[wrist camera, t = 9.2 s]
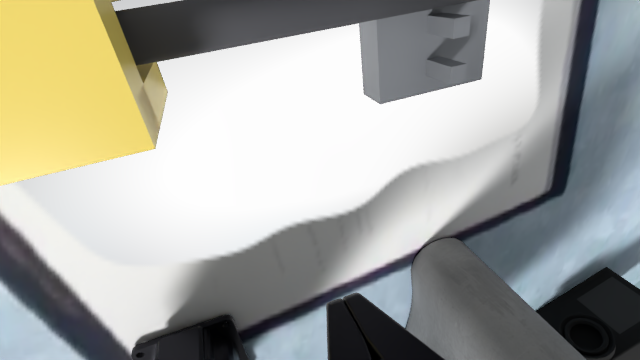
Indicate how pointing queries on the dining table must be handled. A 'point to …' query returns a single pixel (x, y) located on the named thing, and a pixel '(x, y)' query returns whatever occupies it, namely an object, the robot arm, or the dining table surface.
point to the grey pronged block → (423, 50)
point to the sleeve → (71, 89)
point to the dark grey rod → (245, 22)
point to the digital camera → (599, 317)
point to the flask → (475, 311)
